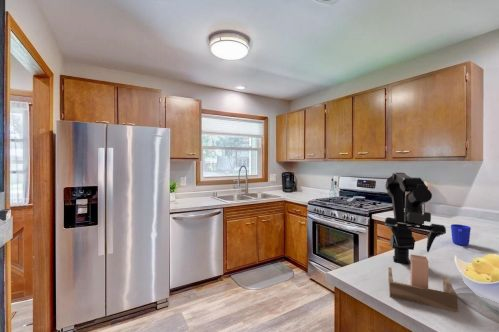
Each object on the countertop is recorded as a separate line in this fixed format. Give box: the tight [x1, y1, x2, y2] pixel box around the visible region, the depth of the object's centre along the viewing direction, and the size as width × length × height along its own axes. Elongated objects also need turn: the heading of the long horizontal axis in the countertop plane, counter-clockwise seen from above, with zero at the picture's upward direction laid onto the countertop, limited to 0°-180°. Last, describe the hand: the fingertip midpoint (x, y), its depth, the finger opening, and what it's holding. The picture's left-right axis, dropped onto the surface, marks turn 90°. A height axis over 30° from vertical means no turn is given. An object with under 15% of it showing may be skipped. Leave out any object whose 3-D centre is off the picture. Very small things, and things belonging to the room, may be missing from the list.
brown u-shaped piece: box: [387, 266, 459, 313], centre depth 83 cm, size 13×18×5 cm
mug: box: [450, 223, 472, 247], centre depth 129 cm, size 8×12×10 cm
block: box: [410, 254, 429, 289], centre depth 82 cm, size 4×4×13 cm
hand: (412, 248), depth 88 cm, fingers open, 9 cm apart
